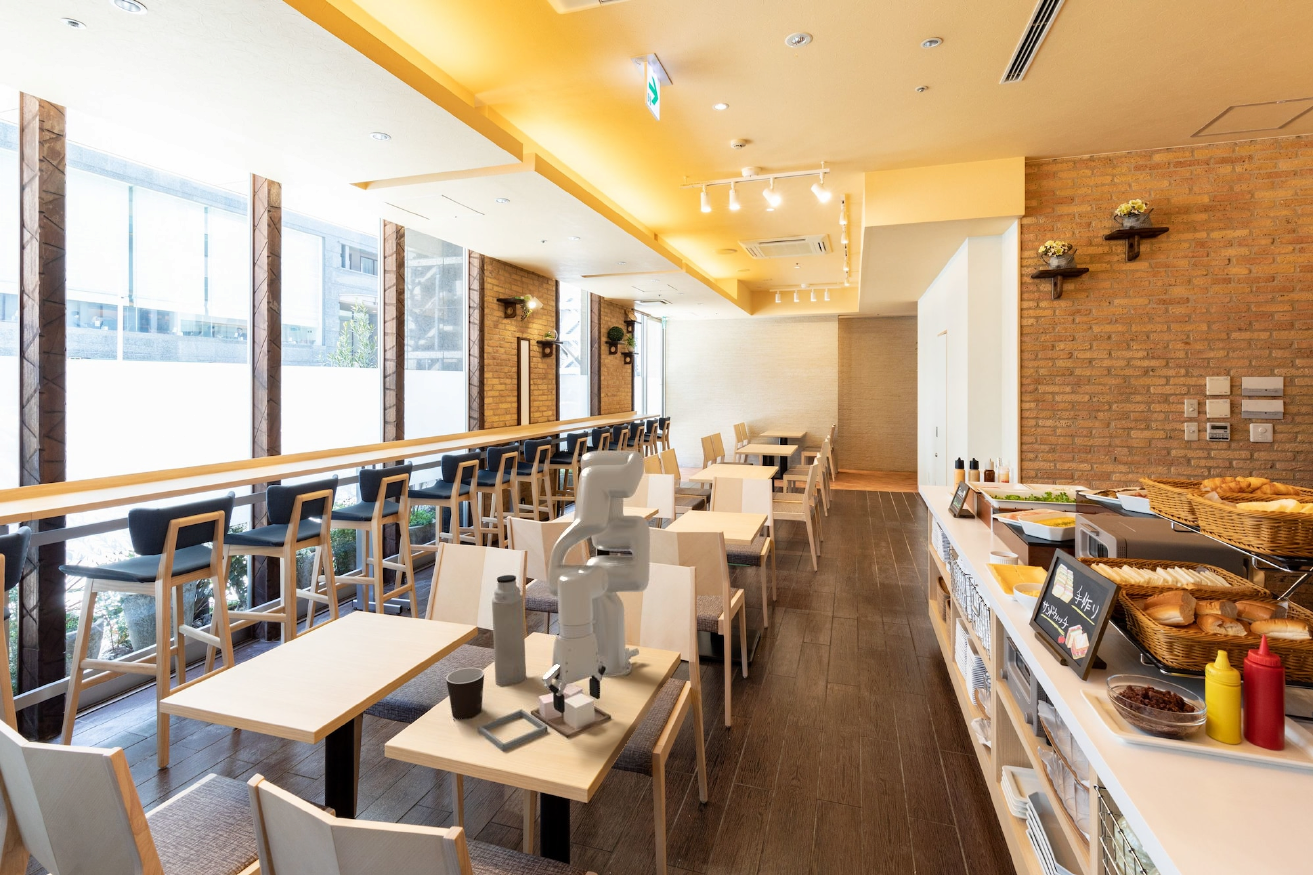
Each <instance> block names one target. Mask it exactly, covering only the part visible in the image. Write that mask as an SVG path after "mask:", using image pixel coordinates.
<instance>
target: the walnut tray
mask: <svg viewBox="0 0 1313 875" xmlns="http://www.w3.org/2000/svg"><path fill="white" fill-rule="evenodd" d="M594 714H595V721H594V722H592V723H589V724H587V725H585V726H583V727H581V728H578V729H575V728H573V727H571V726H570V725H568V724H567V723H565V722H564V713H561V716H560V717H556V718H552V719H549V720H547V719H545V718H544V717H542V716H541V715H540V713H539V707H538V708H535V709H533V710H530V715H531V716H533V717H534V718H536V719H537V720H539V721H540V722H542V723H543V724H545V725H546V726H547V727H548V728H551V729H552V730H553V731H555V732H557V733H559V734H560V735H561V736H562V737H564V738H566V739H570V738H572V737H574V736H577V735H579V734H581V733H583V732H585V731H587V730H589V729H591V728H594V727H596V726H598V725H600V724H603V723H605V722H606V721H609V720H611V719H612V716H611V714H609V713H607V712H606V711H604V710H602V709H600V708H599V707H598V706H595V705H594Z"/></svg>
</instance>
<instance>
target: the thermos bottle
mask: <svg viewBox="0 0 1313 875" xmlns="http://www.w3.org/2000/svg"><path fill="white" fill-rule="evenodd" d="M516 580H517V575H512V574H504V575H500V576H498V577H497V578H496V582H497V583H496V584H497V587H496V588H495V589H494V591H493V597H492V599H491V608H492V609H491V610H492V611H491V612H492V613H491V614H492V632H493V634H492V635H493V656H494V677H495V684H496V685H497V686H499V687H501V688H506V687H511V686H514V685H519V684H521V683H523V682H525V681H526V680H527V667H526V666H527V664H526V648H525V647H526V641H525V619H524V618H525V616H524V614H525V613H524V597H523V595H522V594H521V588H520V586H518V585H517V581H516Z"/></svg>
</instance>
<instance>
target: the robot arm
mask: <svg viewBox="0 0 1313 875" xmlns="http://www.w3.org/2000/svg"><path fill="white" fill-rule="evenodd" d="M580 468H581V469H580V470H581V472H580V474H579V477H578V484H577V485H578V486H577V492H576V500H575V506H574V507H575V508H574V515H573V520H572V523H571V525H569V526H568V527H567V528H566V529H565V530H564V531H563V532H562V533H561V534H560V536H559V537H558V539H557V540H556V542H555V543H554V545H553V547H552V550H551V552H550V555H549V556H550V557H549V562H548V570H547V576H546V577H547V578H546V581H547V582H546V583H547V584H546V585H547V590H548V591H549V593H550V595H552V596H554V597H557V608H558V610H557V613H558V615H557V616H558V617H557V619H558V635H557V636H555V639H554V642H553V643H554V645H553V651H552V668H551V669H550V670H549V671H548V672H546V674H545V675H544V676H542V677H541V678H542V679H541V680H542V682H543V684H544V686H545V687H546V689H547V690H549V691H550V692H551V693H553V704H554V708H555V710H557V711H559V712H560V713H564V712H565V699H564V695H563V694H562V693H563V691H564V689H565V687H567V686H568V685H570V684H571V685H572V684H573V683H577V682H579V681H582V680H585V679H589V680H588V684H589V690H588V691H589V696H590V697H591V698H594V699H597V700H599V699H600V698H601V681H602V680H603V678H612V677H618V676H627V675H628V674H629V673H630V672H631V671H632V667H633V666H632V663H631V662H630V660H631V658H633V657H636V656H638V655H639V654H640V650H639V648H637V647H635V648H632V649H630V648H629V647H626V628H625V626H626V625H625V622H626V621H625V620H626V619H625V605H624V602H623V601H622V599H621V597H620V596H619V594H618V593H640V592H643V591H645V590H647V588H648V586H649V584H650V583H649V581H650V565H651V564H650V559H651V558H650V555H651V550H650V548H651V545H650V544H651V537H650V536H651V533H650V532H651V531H650V525H649V522H648V520H647V519H646V518H645V517H643V516H641V515H625V514H624V499H628V498H632V497H633V496H634V495H635V493H636V491H637V490H638V487H639V486H640V482H641V480H642V478H643V476H644V471H645V461H644V458H643V455H642V454H641V452H639V451H637V450H593V451H589V452H586V453H584V454H582V456H581V459H580ZM589 538H591V542H592V545H593V547H594V548H596V549H597V550H599V551H600V550H601V551H615V552H616V551H617V552H618V551H624V552H625V551H626V552H628V551H629V552H631V553H632V555H604V554H603V555H596V556H592V557H591V558H589V559H588V560H587V562H586V563H585V564H565V560H566V556H567V555H568V553H569V552H570V551H571V549H572V548H574V547H575V546H576V545H578V544H580V543H581V542H583V541H585V540H587V539H589ZM553 680H555V681H554V682H553Z"/></svg>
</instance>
